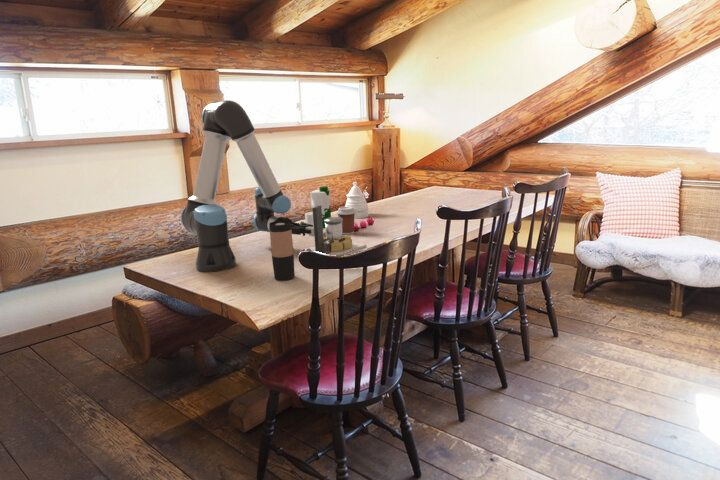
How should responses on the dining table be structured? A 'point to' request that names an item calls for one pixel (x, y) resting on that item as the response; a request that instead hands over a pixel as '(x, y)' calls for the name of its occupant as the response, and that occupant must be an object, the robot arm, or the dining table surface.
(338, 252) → the base plate
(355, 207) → the honey pot
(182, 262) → the dining table surface
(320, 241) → the grey and gold stand
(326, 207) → the milk carton
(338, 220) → the white lidded jar
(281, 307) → the dining table surface
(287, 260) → the travel mug
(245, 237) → the dining table surface
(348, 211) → the coffee cup
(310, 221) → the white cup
